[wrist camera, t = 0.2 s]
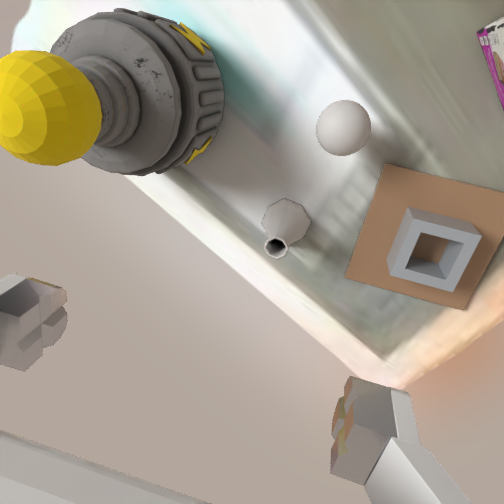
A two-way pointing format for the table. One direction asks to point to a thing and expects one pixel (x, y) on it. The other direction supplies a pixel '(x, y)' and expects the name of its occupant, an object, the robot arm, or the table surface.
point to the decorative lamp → (113, 96)
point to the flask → (284, 226)
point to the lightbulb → (343, 128)
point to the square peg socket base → (427, 236)
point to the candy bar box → (494, 53)
